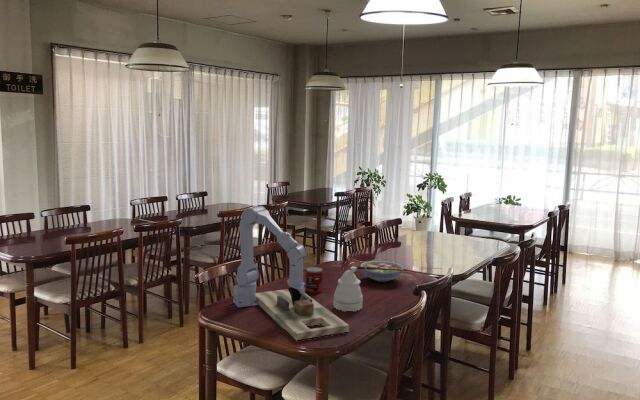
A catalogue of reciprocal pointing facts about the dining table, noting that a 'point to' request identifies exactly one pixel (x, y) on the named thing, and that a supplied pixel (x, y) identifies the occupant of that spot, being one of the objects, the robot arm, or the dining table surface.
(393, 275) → the ramen bowl
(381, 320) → the dining table surface
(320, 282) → the canned food
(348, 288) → the white santa figurine
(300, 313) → the walnut block
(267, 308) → the board
